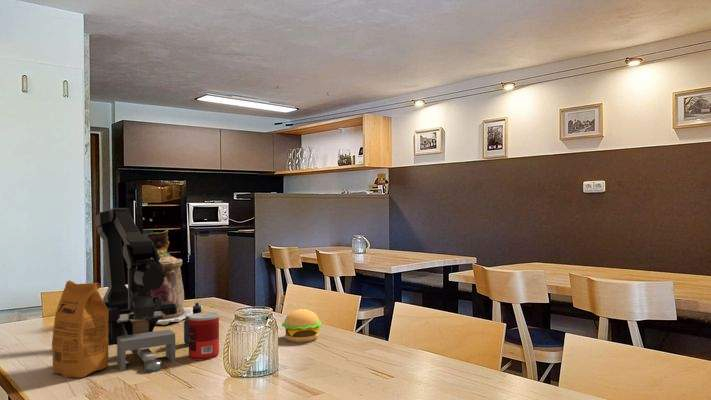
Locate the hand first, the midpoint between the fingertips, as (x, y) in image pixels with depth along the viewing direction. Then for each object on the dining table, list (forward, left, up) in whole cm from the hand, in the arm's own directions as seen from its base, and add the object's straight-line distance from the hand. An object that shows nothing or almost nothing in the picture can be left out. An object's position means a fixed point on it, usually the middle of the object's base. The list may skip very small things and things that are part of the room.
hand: (139, 342), depth 139 cm
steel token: (+16, 0, -3) cm, 17 cm away
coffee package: (+7, -15, -3) cm, 17 cm away
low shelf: (+9, 0, -3) cm, 9 cm away
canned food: (+12, +14, -3) cm, 19 cm away
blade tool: (+6, 0, -2) cm, 6 cm away
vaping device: (-2, +15, -3) cm, 15 cm away
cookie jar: (-46, +15, -3) cm, 48 cm away
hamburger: (+11, +44, -3) cm, 45 cm away
